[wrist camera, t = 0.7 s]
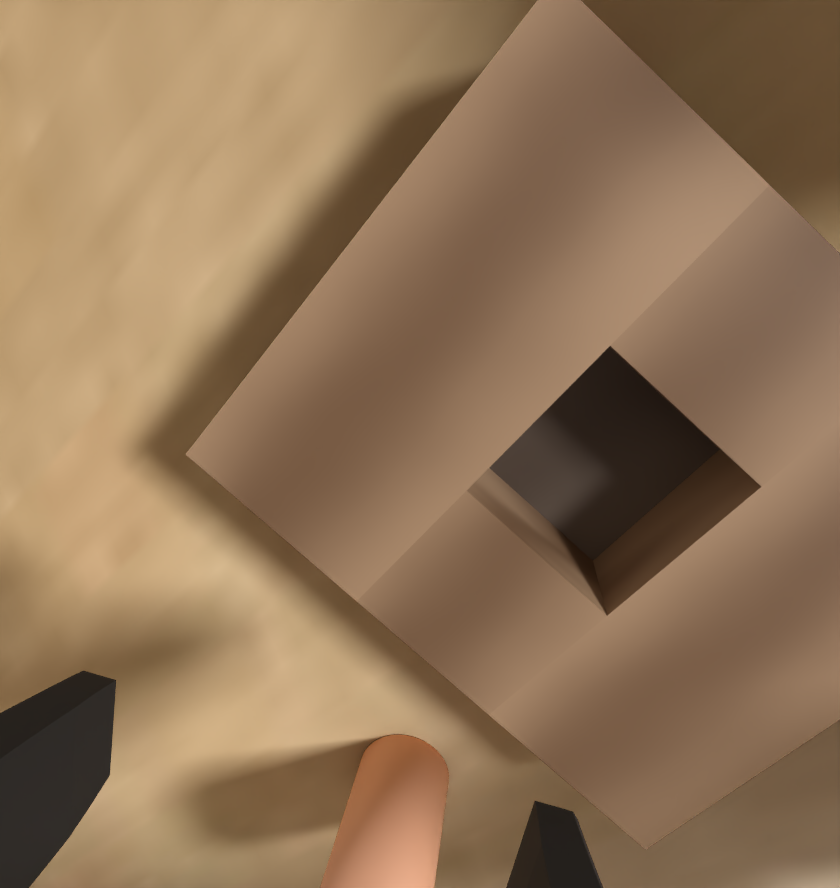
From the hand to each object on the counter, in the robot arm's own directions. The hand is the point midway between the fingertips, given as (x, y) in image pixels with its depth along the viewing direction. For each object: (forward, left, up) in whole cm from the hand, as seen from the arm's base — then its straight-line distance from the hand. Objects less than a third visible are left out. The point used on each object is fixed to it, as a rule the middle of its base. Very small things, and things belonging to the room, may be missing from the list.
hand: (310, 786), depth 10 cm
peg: (-6, +7, -10) cm, 13 cm away
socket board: (-2, -6, -10) cm, 12 cm away
